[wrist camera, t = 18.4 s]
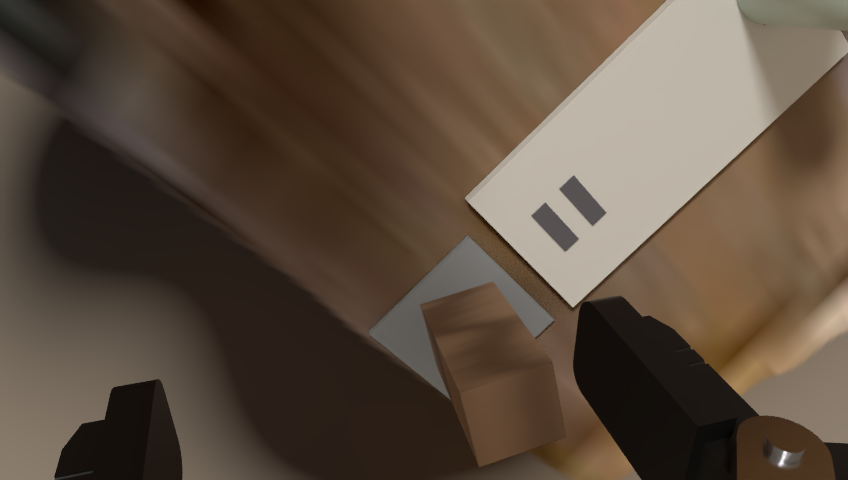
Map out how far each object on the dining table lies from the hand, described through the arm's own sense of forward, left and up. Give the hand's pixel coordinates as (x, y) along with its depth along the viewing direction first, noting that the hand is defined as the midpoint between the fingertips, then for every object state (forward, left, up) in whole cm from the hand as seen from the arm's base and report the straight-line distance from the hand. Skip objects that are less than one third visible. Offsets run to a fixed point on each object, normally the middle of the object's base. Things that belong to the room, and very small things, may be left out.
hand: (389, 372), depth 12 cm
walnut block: (+16, -3, -26) cm, 31 cm away
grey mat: (+17, -3, -27) cm, 32 cm away
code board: (+16, +15, -27) cm, 34 cm away
